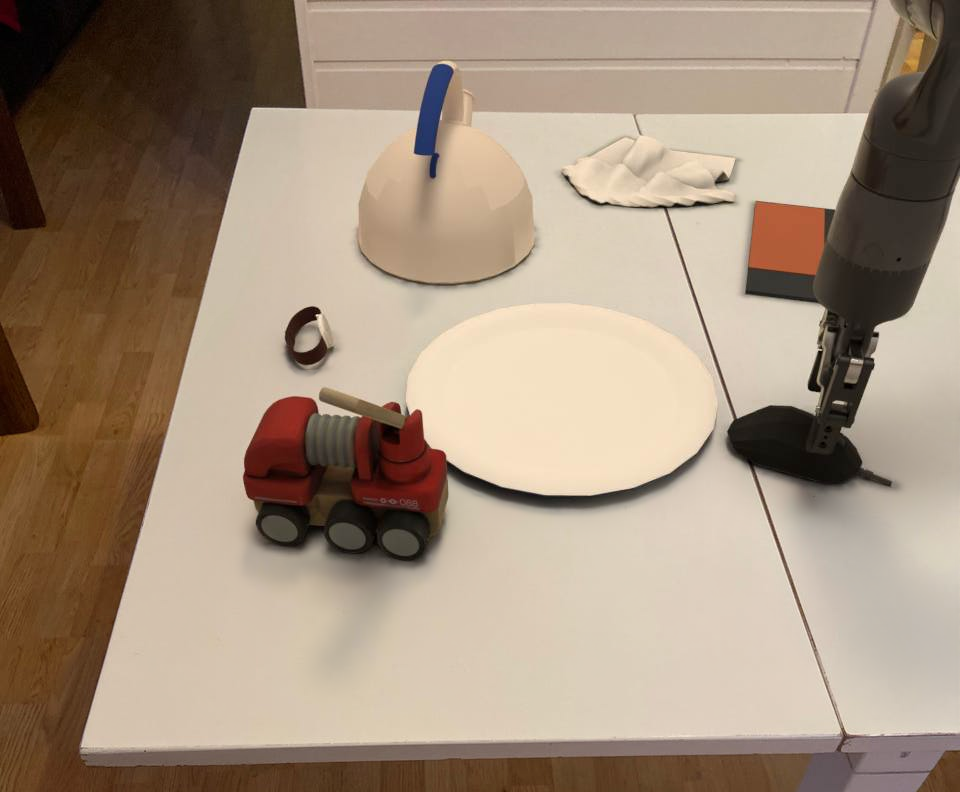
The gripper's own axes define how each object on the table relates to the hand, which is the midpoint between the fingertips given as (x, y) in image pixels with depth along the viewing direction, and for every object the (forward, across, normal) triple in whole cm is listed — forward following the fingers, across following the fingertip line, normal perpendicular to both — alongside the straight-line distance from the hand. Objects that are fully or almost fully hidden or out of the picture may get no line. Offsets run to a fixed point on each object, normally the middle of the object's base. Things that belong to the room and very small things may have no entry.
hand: (818, 419), depth 82 cm
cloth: (+5, +50, +19) cm, 54 cm away
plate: (+5, +3, +23) cm, 23 cm away
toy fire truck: (+5, -18, +37) cm, 41 cm away
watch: (+5, +6, +49) cm, 49 cm away
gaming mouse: (+5, 0, 0) cm, 5 cm away
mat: (+4, +36, -1) cm, 36 cm away
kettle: (+5, +30, +41) cm, 51 cm away
